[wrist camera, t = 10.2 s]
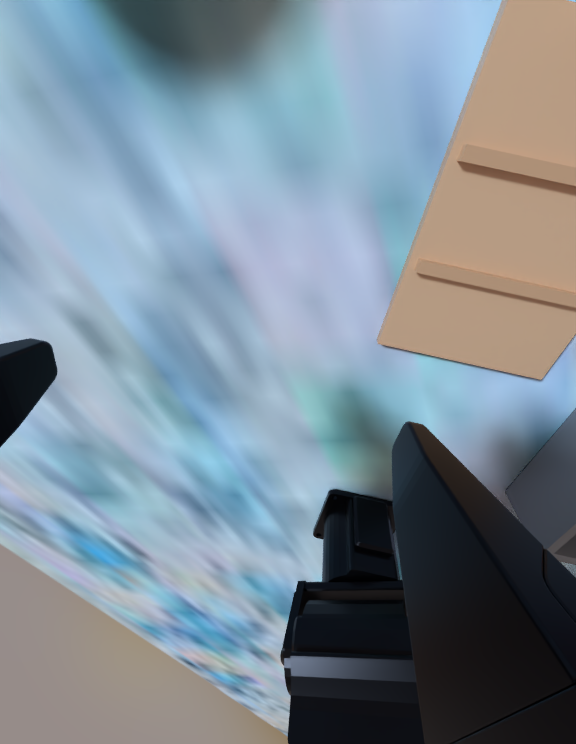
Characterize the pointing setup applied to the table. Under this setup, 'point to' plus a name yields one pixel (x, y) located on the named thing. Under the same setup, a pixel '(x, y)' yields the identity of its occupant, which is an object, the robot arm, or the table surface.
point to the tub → (550, 494)
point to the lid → (501, 209)
